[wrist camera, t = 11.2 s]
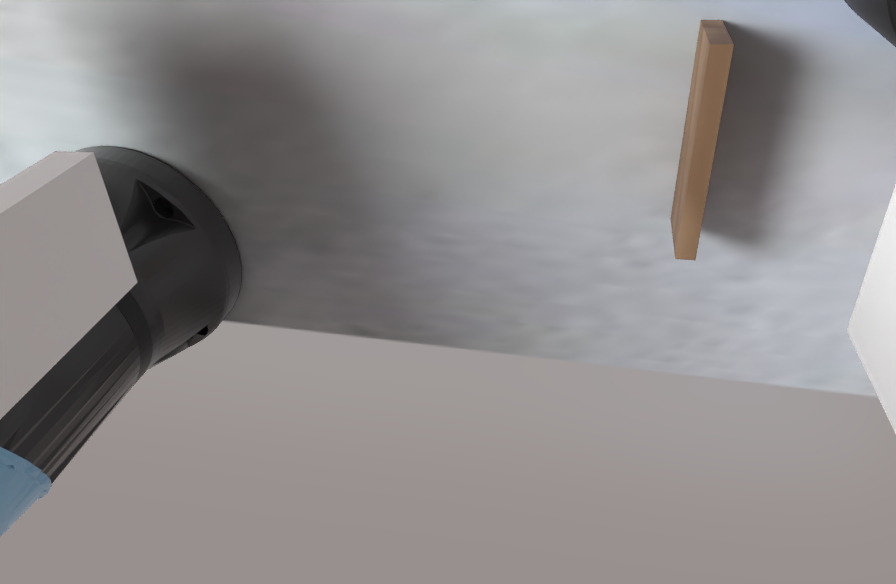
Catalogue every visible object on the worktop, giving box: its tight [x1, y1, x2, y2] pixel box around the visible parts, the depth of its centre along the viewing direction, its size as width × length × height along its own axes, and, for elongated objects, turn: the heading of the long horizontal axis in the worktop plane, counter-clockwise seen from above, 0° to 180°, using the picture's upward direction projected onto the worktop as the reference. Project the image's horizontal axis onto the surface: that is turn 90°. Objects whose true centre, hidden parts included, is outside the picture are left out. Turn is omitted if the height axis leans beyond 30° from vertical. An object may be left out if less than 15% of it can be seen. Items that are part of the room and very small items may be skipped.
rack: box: [671, 20, 734, 260], centre depth 34 cm, size 17×11×4 cm, turn 92°
